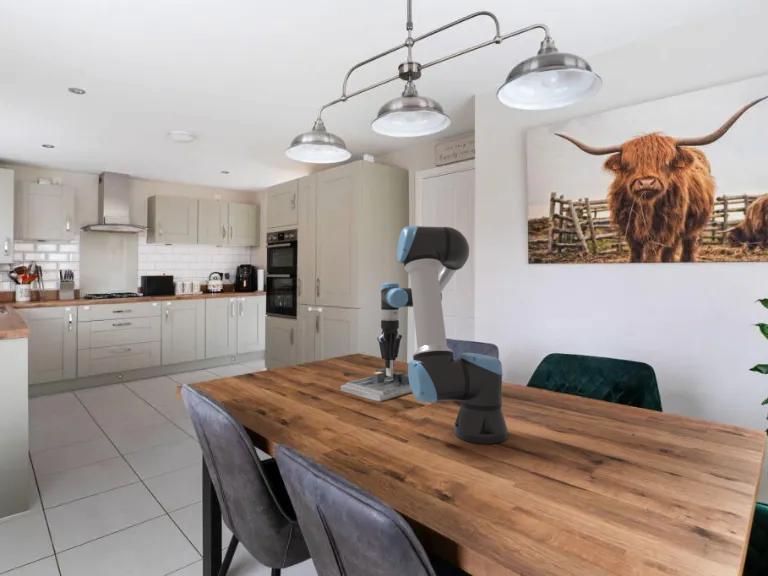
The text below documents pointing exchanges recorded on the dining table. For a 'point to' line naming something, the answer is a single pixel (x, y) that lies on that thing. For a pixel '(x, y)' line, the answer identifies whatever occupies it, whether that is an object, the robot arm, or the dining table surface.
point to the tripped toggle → (377, 377)
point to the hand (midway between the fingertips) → (389, 375)
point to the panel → (379, 386)
